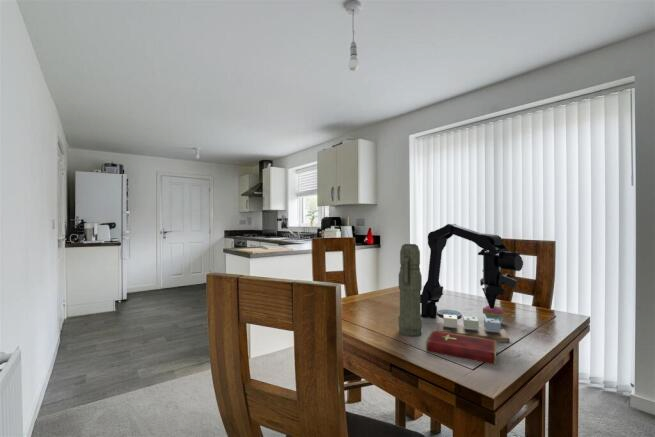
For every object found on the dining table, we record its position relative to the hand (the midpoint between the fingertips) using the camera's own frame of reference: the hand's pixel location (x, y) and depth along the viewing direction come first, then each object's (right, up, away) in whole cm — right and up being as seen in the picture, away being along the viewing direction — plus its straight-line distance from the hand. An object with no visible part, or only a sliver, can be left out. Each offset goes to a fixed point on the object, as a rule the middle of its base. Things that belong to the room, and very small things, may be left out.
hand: (491, 308), depth 121 cm
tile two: (-7, -8, +3) cm, 11 cm away
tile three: (0, -8, 0) cm, 8 cm away
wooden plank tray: (-7, -11, +3) cm, 13 cm away
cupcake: (+9, -11, +17) cm, 22 cm away
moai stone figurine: (-30, -11, +4) cm, 33 cm away
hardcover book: (-17, -11, -14) cm, 25 cm away
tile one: (-14, -8, +5) cm, 17 cm away
